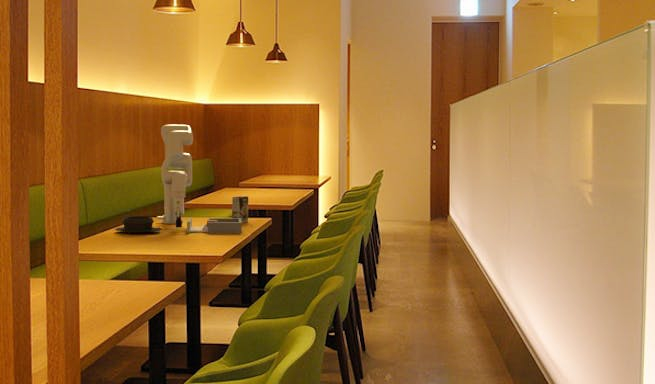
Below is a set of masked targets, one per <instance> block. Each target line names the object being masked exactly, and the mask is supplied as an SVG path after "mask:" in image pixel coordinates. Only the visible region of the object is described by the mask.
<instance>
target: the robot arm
mask: <svg viewBox="0 0 655 384" xmlns="http://www.w3.org/2000/svg"><path fill="white" fill-rule="evenodd" d="M160 133H161V138H162V141H163V143H164V148H165V149H164V161H163V162H162V164H161V181H162V183H163V191H164V193H163V194H164V199H163V200H164V201H163V203H164V208H163V209H164V214H163V215H162V216H161V215H159V216H158V215H157V216H156V219H157V220H161V223H162V224H166V225H167V224H168V225H170V224H172V225H173V224H175V228H182V227H183V223H184V220H182V219H183V217H182V216H185V215H184V214H185V198H186V197H187V196H186V190H187V189H186V188H187V187H190V186H191V185H192V184H193V157H192V154H190V153H187V152H184V146H191V145H192V144H193V143H194V142H193V141H194V135H193V130H192V127H191V126H190V125H189V124H188V125H187V124H164V125H162V126H161V128H160ZM167 168H168V169H174V170H167ZM177 169H180V170H177ZM182 169H183V170H182Z"/></svg>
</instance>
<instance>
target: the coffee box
mask: <svg viewBox="0 0 655 384" xmlns="http://www.w3.org/2000/svg"><path fill="white" fill-rule="evenodd" d="M231 200H232V202H231V203H232V204H231V205H232V207H231V208H232V209H231V211H232V213H231V218H241V222H242V224H246V222H247V223H248V222H249V196H241V195H240V196H232V198H231Z"/></svg>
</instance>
